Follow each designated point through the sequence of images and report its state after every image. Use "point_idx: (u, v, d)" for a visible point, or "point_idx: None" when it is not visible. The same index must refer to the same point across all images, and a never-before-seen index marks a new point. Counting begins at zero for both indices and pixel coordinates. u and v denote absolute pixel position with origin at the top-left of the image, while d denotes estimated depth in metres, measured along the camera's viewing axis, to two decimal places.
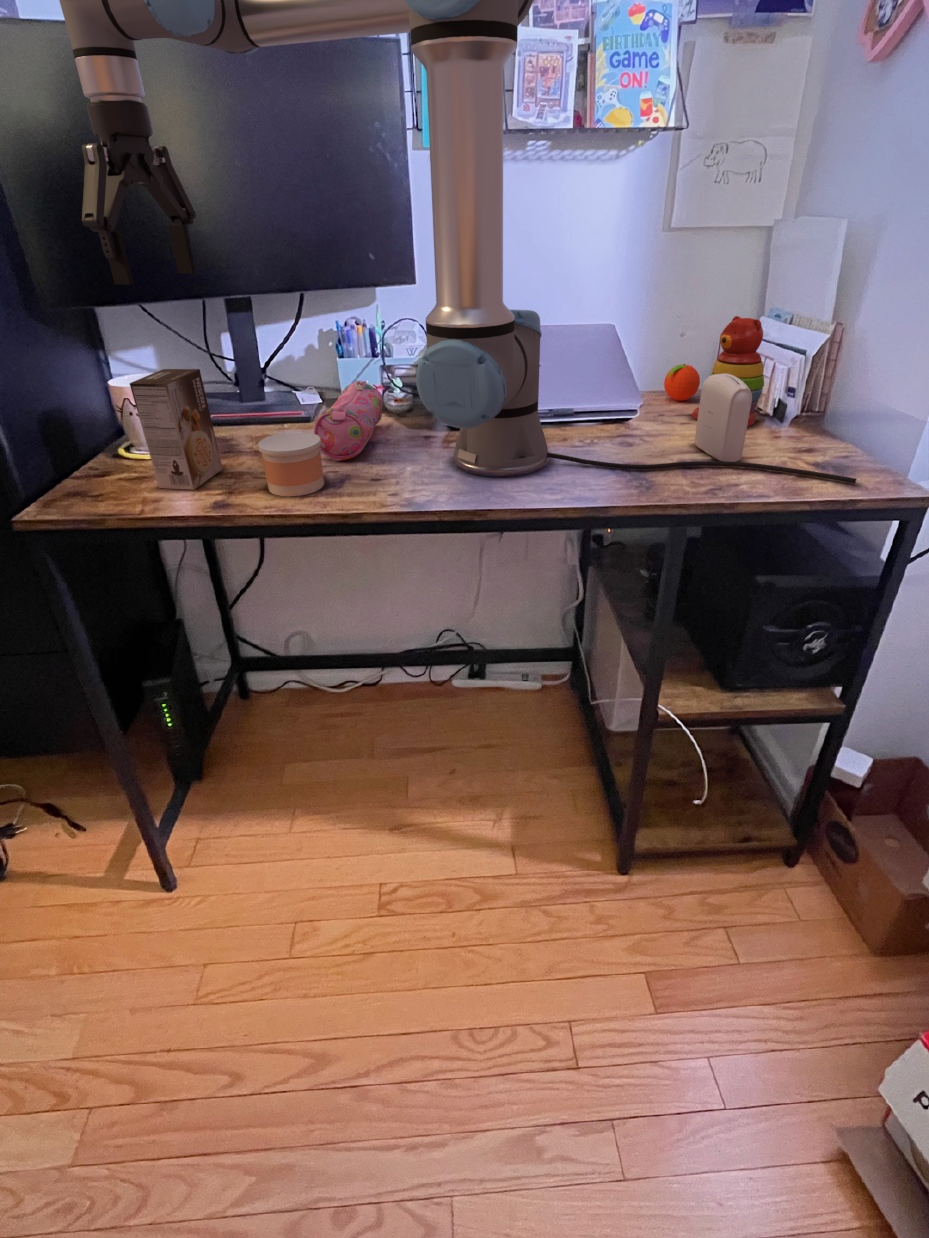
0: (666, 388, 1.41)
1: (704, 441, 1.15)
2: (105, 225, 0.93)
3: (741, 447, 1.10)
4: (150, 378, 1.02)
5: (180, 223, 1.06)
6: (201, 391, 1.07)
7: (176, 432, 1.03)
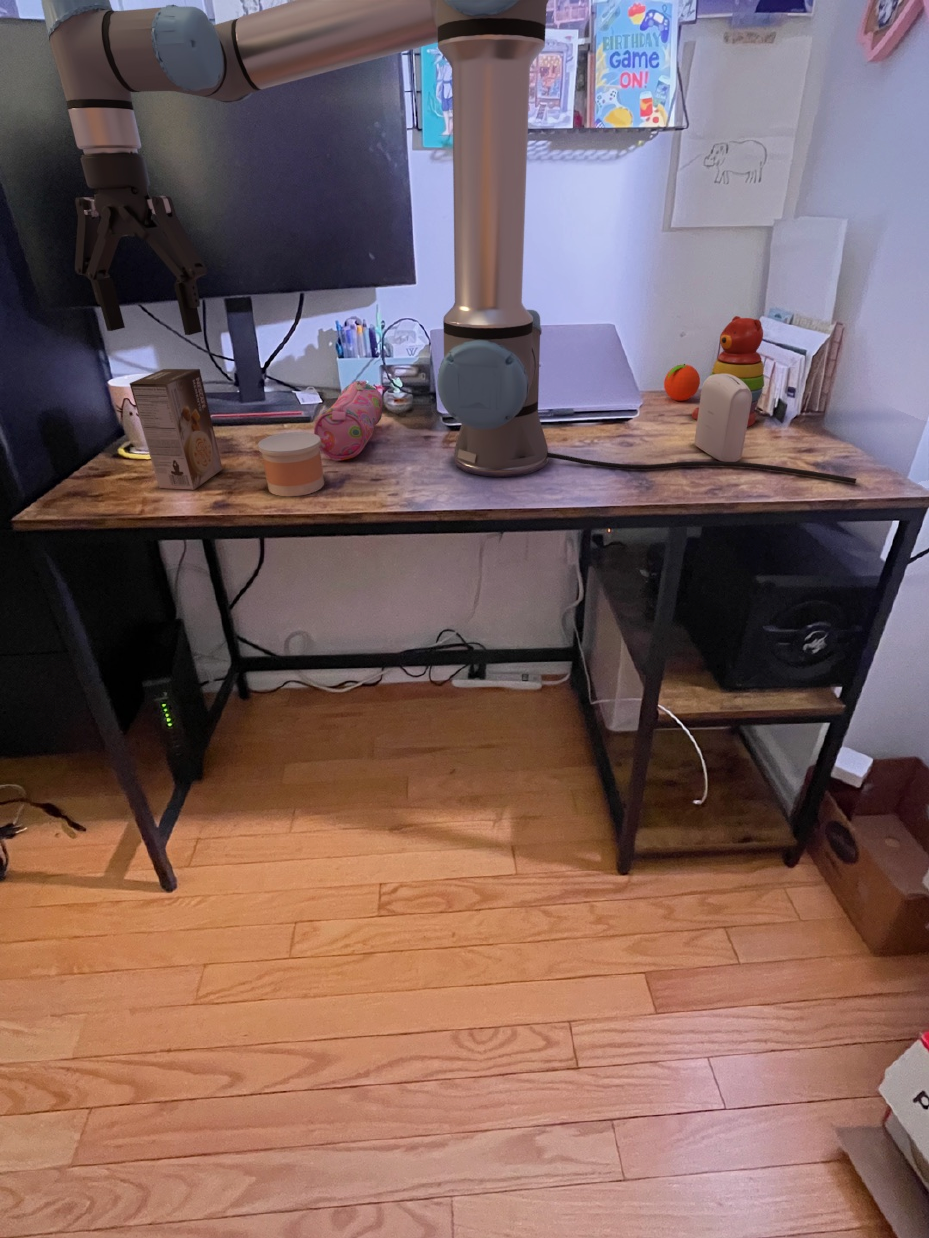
0: (666, 388, 1.41)
1: (704, 441, 1.15)
2: None
3: (741, 447, 1.10)
4: (150, 378, 1.02)
5: None
6: (201, 391, 1.07)
7: (176, 432, 1.03)
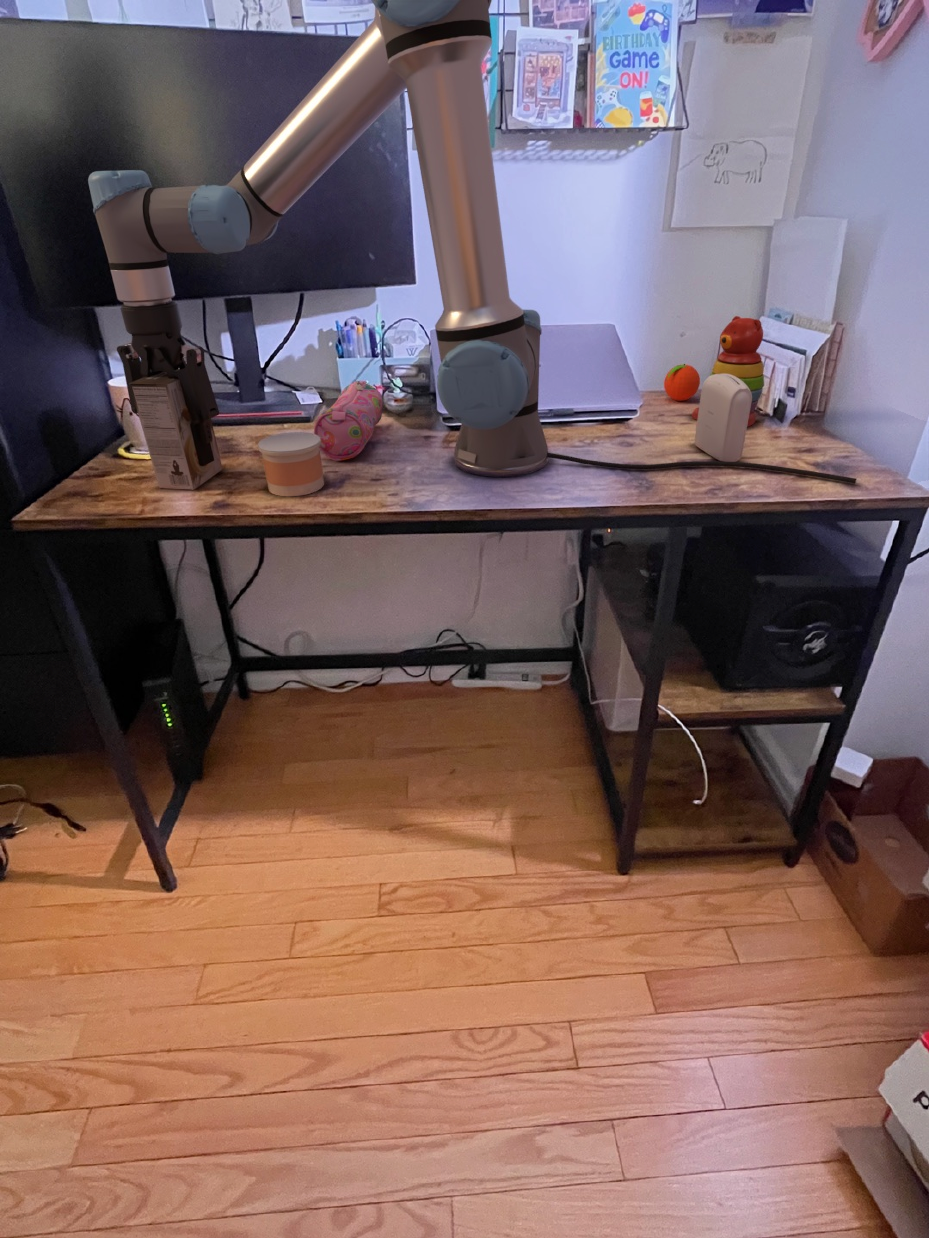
0: (666, 388, 1.41)
1: (704, 441, 1.15)
2: None
3: (741, 447, 1.10)
4: (150, 378, 1.02)
5: None
6: None
7: (176, 432, 1.03)
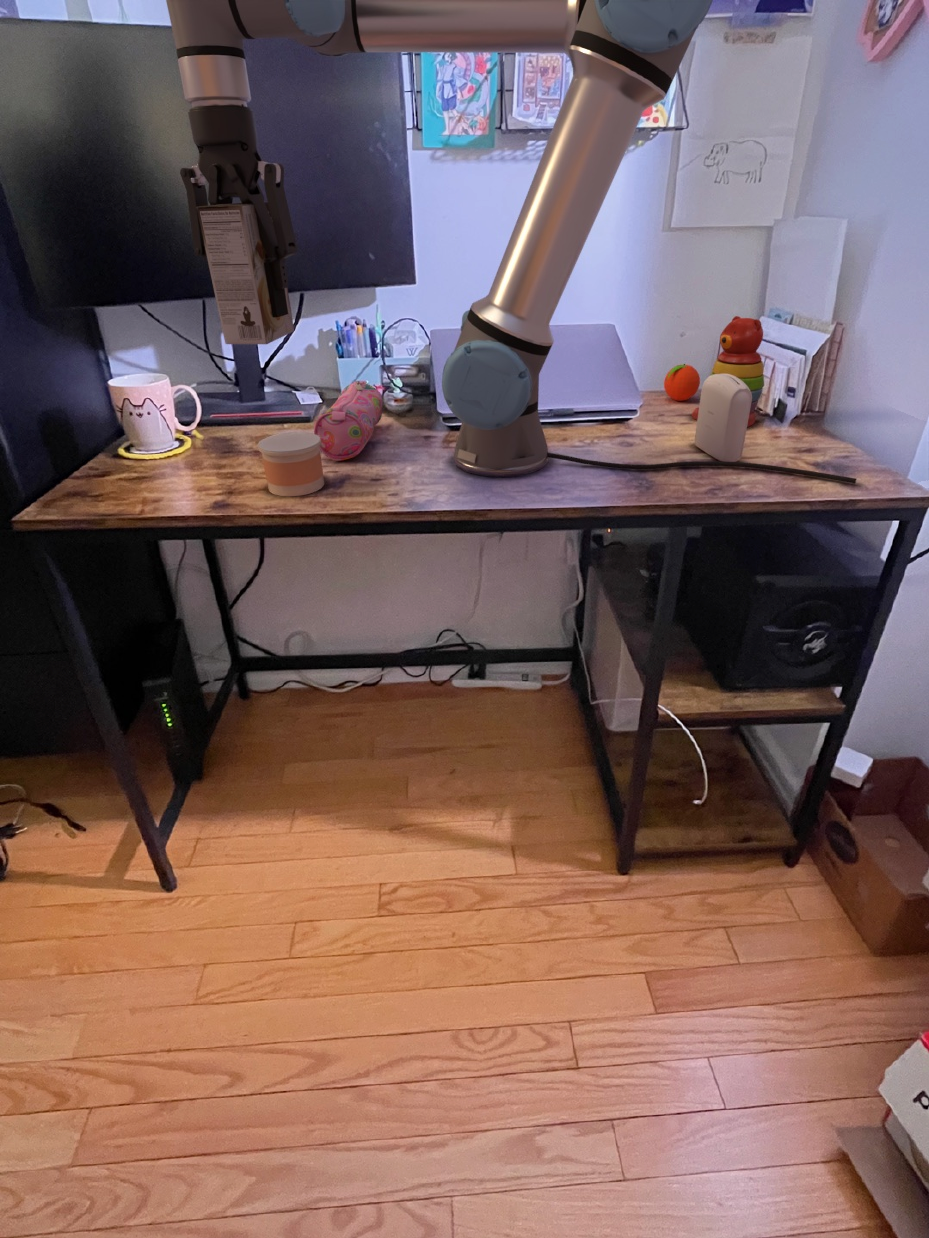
0: (666, 388, 1.41)
1: (704, 441, 1.15)
2: None
3: (741, 447, 1.10)
4: None
5: None
6: None
7: (250, 270, 0.88)
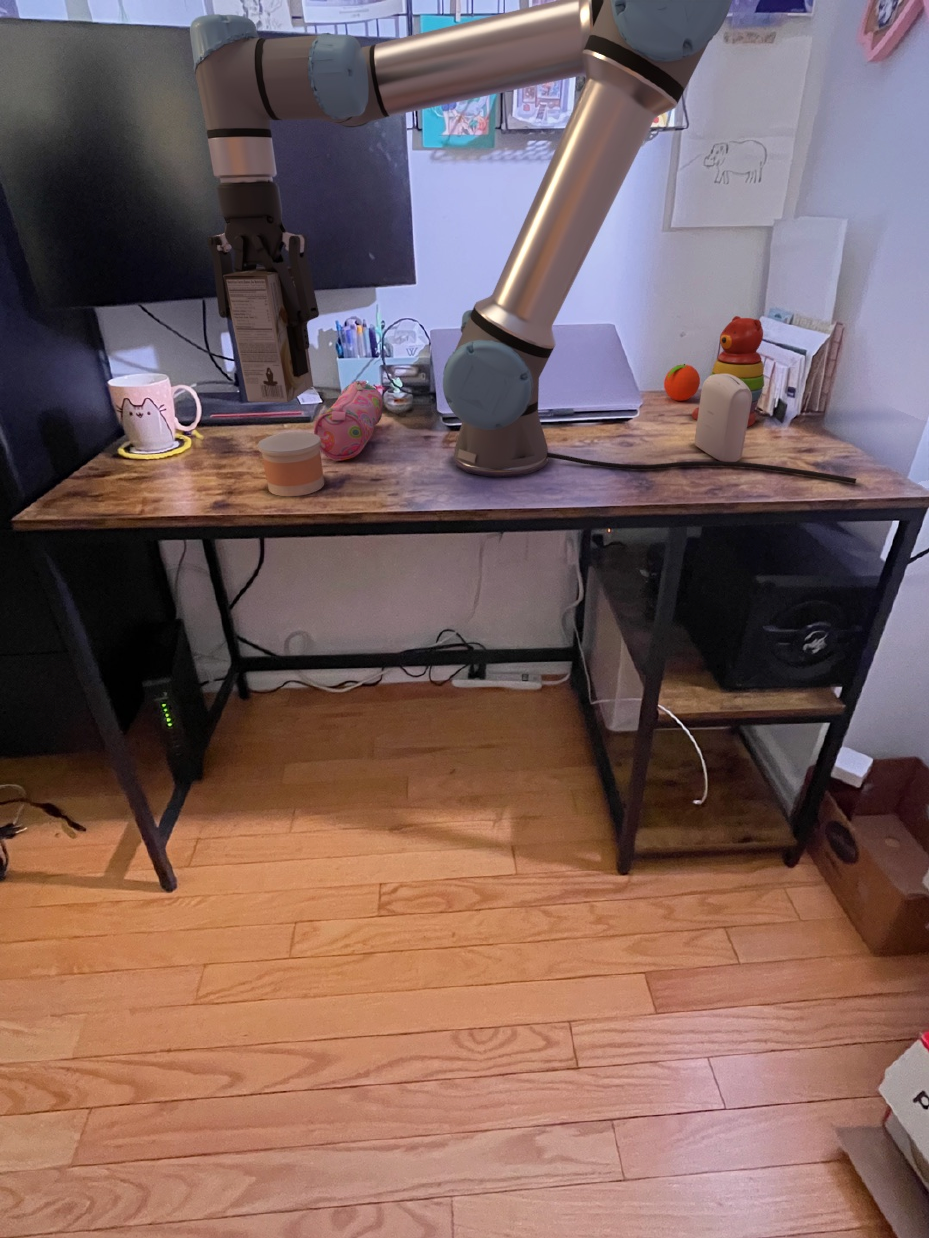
0: (666, 388, 1.41)
1: (704, 441, 1.15)
2: None
3: (741, 447, 1.10)
4: (245, 272, 0.91)
5: None
6: None
7: (273, 334, 0.92)
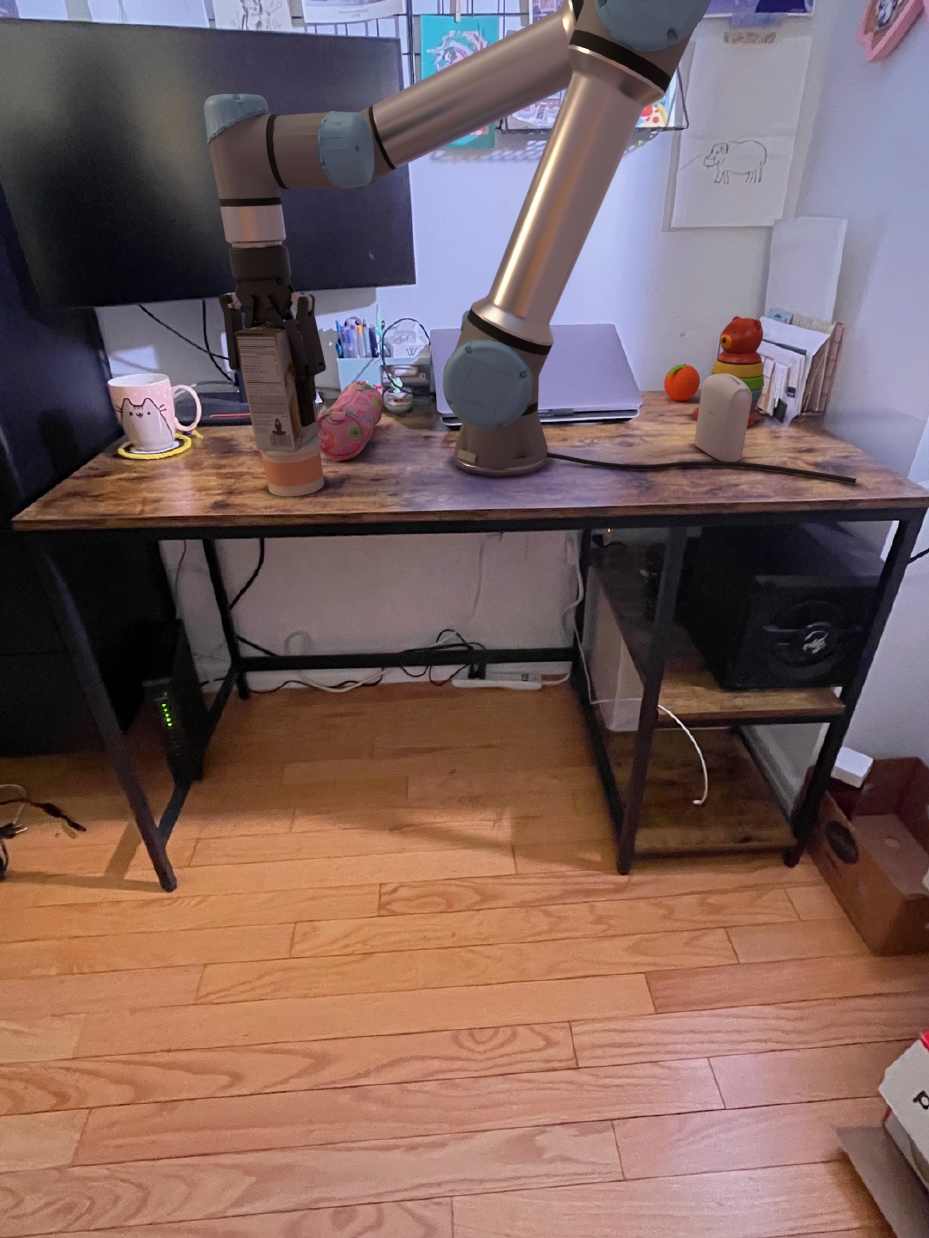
0: (666, 388, 1.41)
1: (704, 441, 1.15)
2: None
3: (741, 447, 1.10)
4: (255, 328, 0.94)
5: None
6: None
7: (282, 387, 0.95)
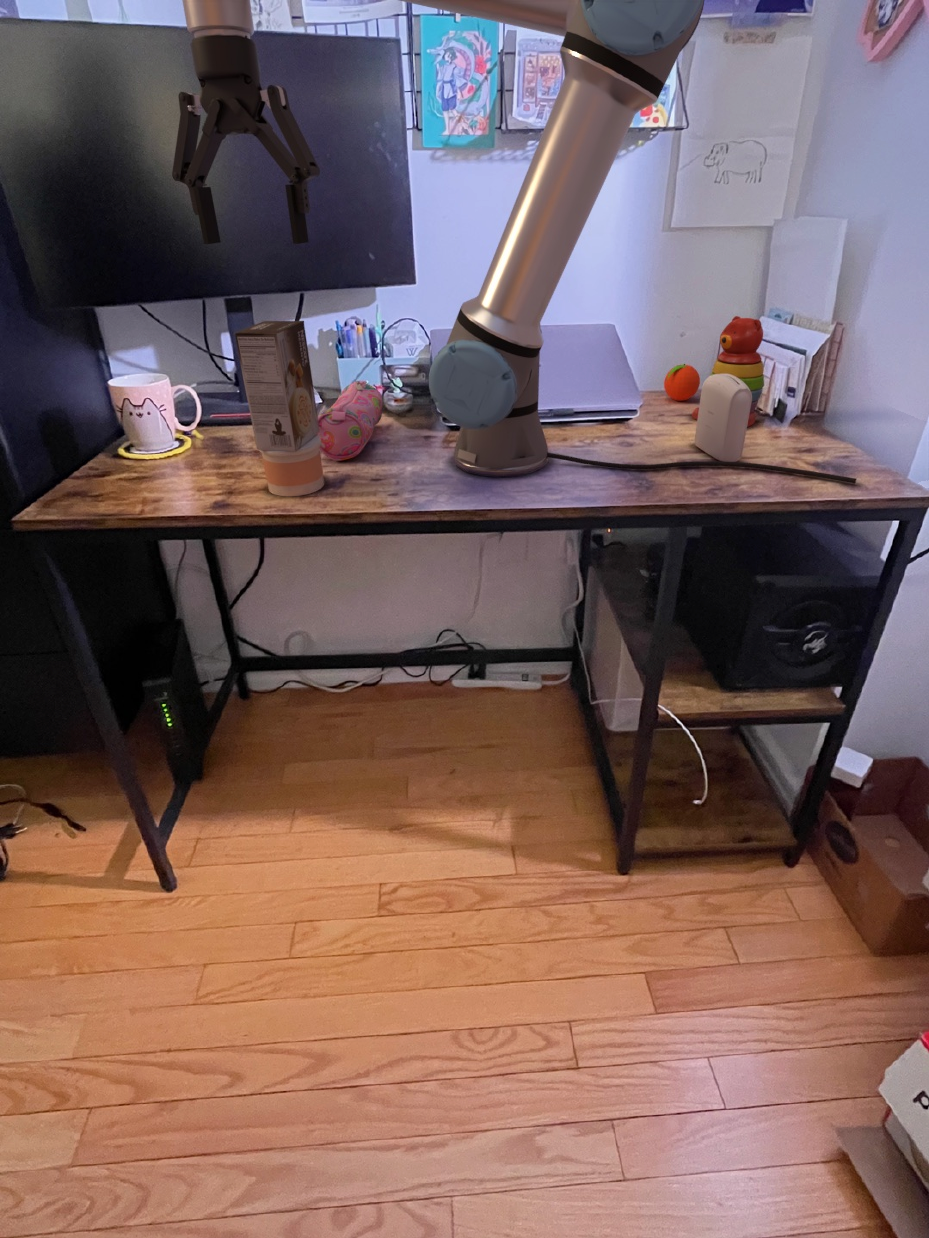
0: (666, 388, 1.41)
1: (704, 441, 1.15)
2: (186, 180, 0.91)
3: (741, 447, 1.10)
4: (255, 328, 0.94)
5: None
6: (305, 345, 0.99)
7: (282, 387, 0.95)
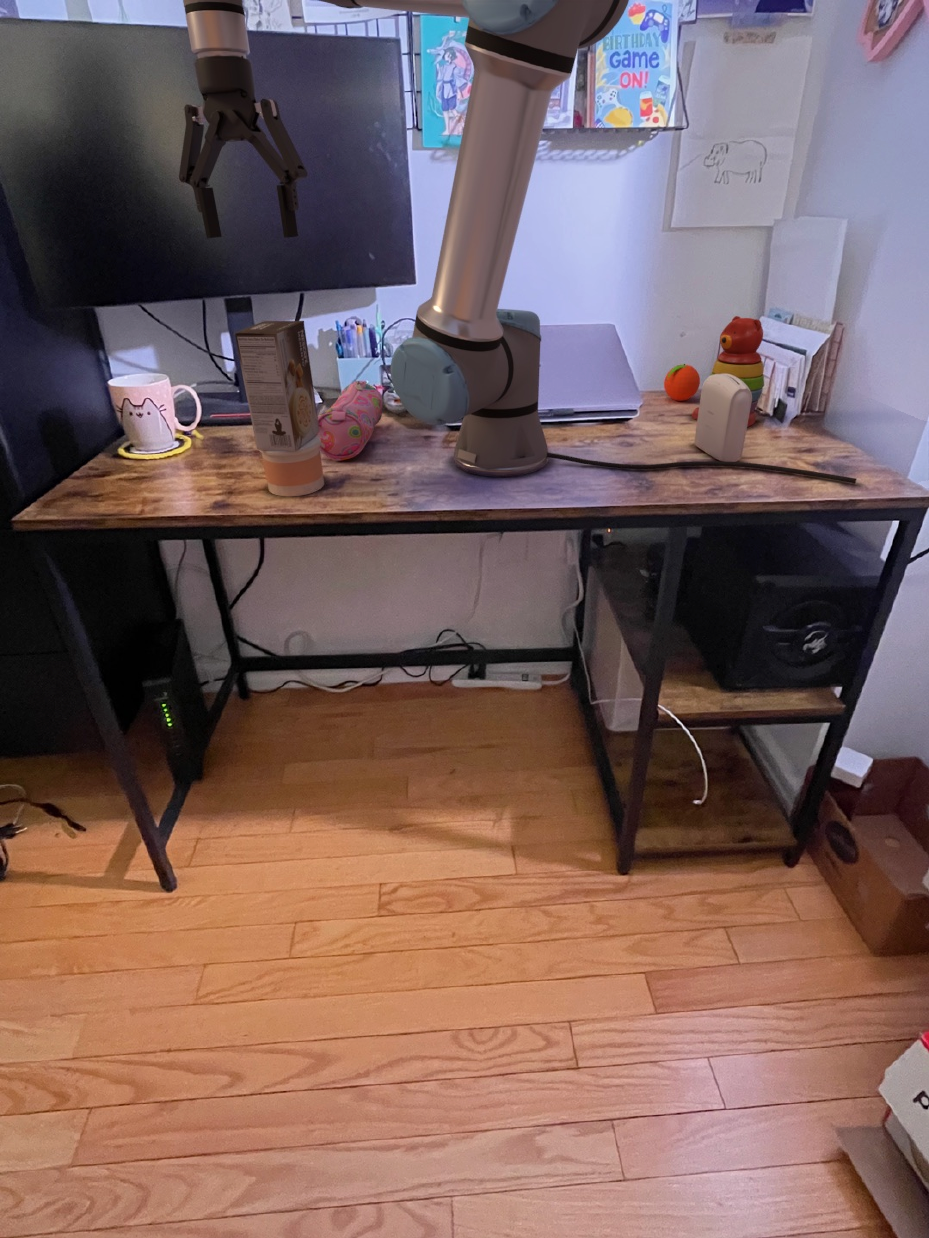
0: (666, 388, 1.41)
1: (704, 441, 1.15)
2: None
3: (741, 447, 1.10)
4: (255, 328, 0.94)
5: None
6: (305, 345, 0.99)
7: (282, 387, 0.95)
